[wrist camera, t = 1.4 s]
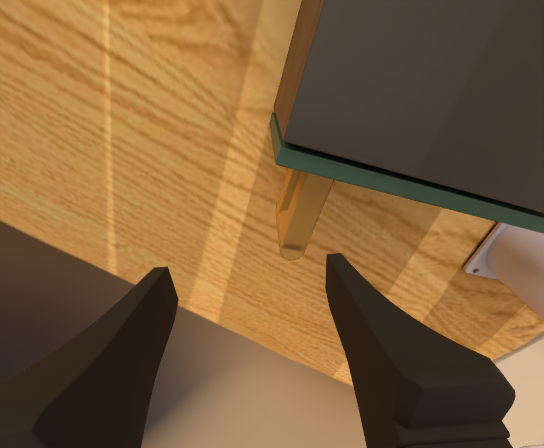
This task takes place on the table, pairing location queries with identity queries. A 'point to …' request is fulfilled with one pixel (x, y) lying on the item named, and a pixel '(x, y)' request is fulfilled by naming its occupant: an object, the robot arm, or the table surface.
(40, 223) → the table surface
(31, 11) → the table surface
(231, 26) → the table surface
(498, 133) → the cubby
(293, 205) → the cubby door
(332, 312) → the robot arm
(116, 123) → the table surface
